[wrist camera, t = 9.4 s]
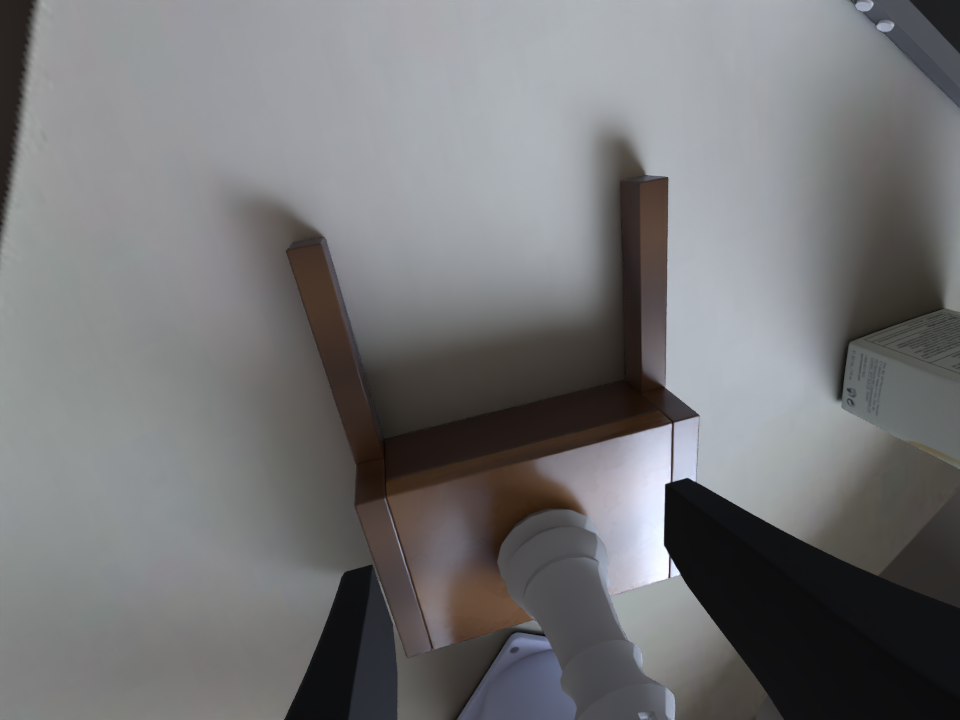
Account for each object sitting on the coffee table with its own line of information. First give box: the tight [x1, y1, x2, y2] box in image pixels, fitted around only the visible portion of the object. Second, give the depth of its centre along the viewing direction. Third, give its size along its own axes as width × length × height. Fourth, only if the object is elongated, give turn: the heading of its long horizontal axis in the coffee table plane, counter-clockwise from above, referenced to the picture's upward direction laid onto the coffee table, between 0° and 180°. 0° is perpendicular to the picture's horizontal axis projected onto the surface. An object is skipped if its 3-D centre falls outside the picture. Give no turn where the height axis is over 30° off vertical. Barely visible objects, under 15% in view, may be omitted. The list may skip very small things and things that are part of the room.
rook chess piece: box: [497, 509, 675, 720], centre depth 17 cm, size 4×4×8 cm
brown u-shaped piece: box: [286, 175, 700, 658], centre depth 20 cm, size 18×14×4 cm
